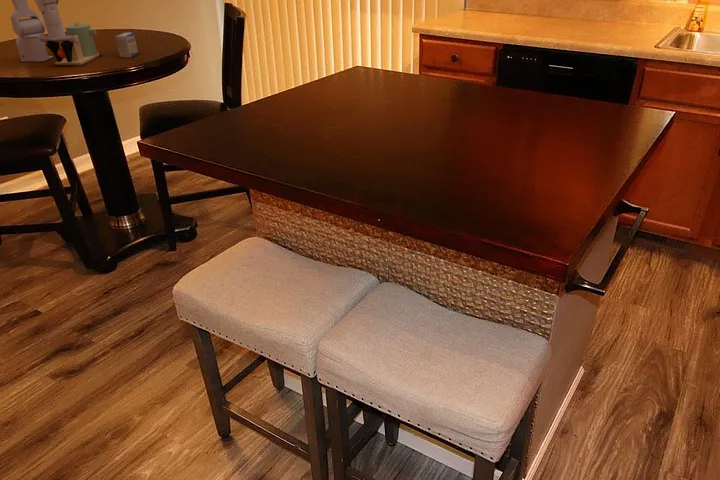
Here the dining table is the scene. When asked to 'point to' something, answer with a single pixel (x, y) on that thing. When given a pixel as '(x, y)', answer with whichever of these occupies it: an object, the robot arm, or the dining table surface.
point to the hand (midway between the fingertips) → (65, 61)
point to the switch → (61, 53)
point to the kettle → (83, 38)
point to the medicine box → (126, 44)
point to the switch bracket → (76, 56)
